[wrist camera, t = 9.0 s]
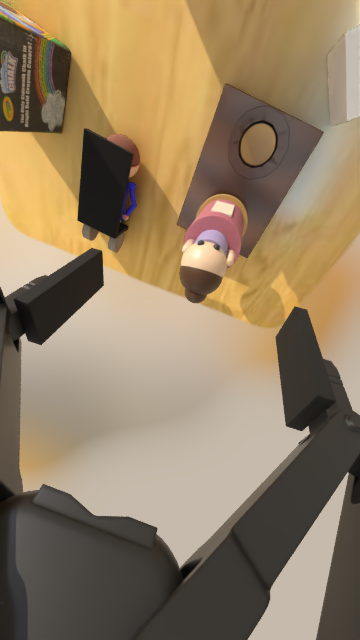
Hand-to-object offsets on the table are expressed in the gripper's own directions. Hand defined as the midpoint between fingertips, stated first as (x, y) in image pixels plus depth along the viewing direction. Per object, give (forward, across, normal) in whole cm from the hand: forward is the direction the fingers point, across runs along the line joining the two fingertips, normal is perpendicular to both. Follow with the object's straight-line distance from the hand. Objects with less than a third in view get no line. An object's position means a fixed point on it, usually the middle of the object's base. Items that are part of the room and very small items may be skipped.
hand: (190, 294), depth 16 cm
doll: (+20, 0, 0) cm, 21 cm away
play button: (+21, +2, +8) cm, 23 cm away
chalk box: (+24, -29, +10) cm, 39 cm away
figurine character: (+24, -16, -1) cm, 29 cm away
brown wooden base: (+24, +1, +4) cm, 24 cm away
